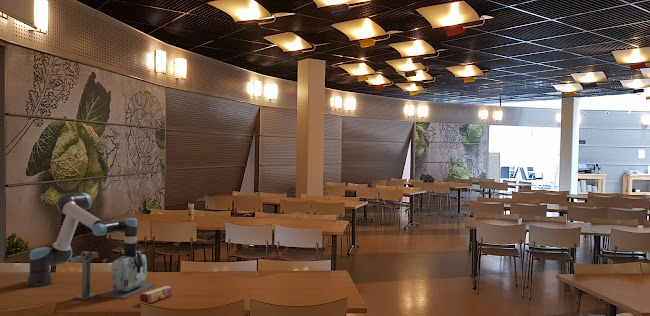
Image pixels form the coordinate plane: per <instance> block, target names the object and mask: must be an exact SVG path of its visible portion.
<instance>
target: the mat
mask: <svg viewBox="0 0 650 316" xmlns="http://www.w3.org/2000/svg"><path fill="white" fill-rule="evenodd" d="M155 286H156V284H155V283H154V284H152V283H144V284H142V285H140V286H138V287H136V288H134V289H132V290H129V291H115V290H112V291H110V292H108V293H105V294H102V295H101V297H104V298H110V299H111V298H112V299H123V300H125V299H127V298H130V297H132V296H135V295H136V294H139V293H141V292H142V293H143V291H146V290H148V289H150V288H153V287H155Z"/></svg>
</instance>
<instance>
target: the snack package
mask: <svg viewBox="0 0 650 316" xmlns="http://www.w3.org/2000/svg"><path fill="white" fill-rule="evenodd" d="M169 296H170V297H172V296H173V288H172V286H169V285H164V286H162V287H158V288H155V289H152V290H150V291H145V292H142V293H141V294H140V296H139V301H140V302H141V301H142V302H145V303H150V304H152V302H153V303H155V301H156V302H158V301H160V300H161V301H162V300H163V299H167V298H169Z"/></svg>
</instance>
